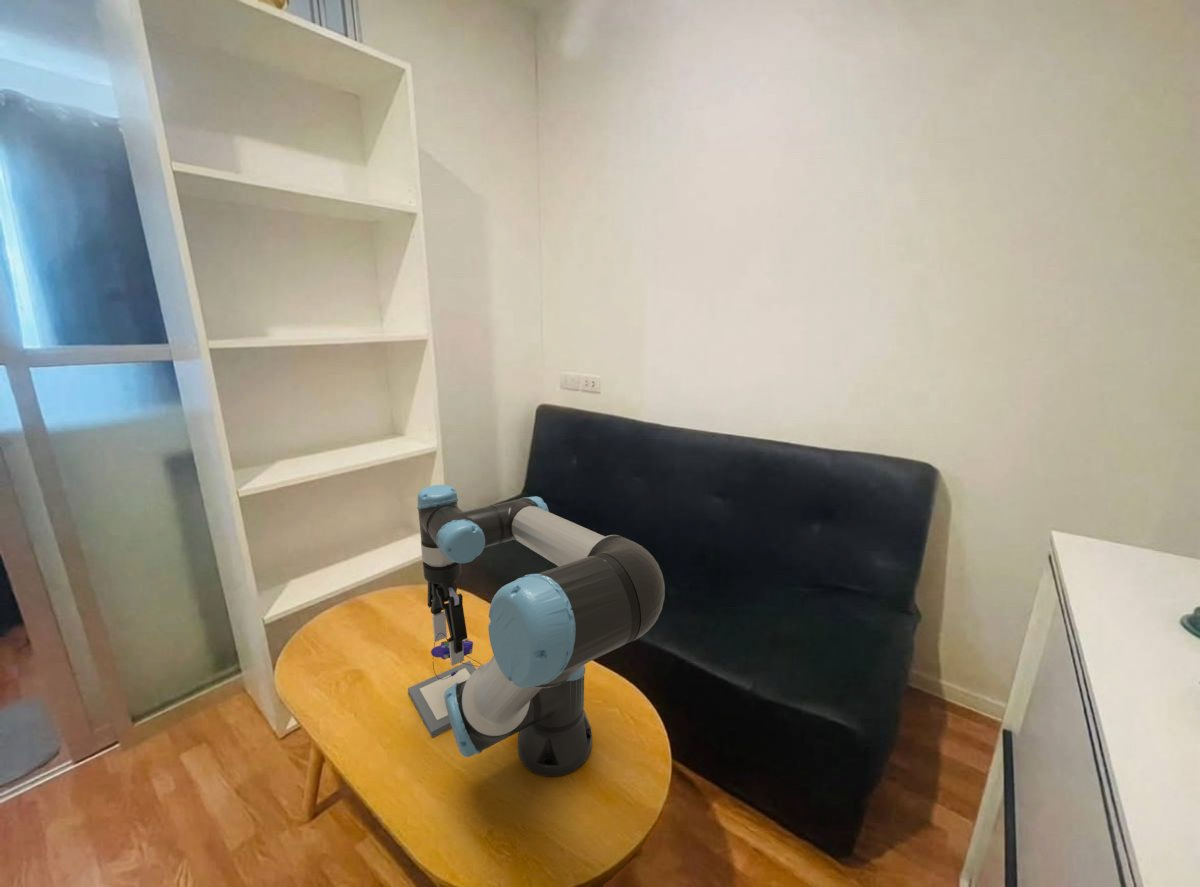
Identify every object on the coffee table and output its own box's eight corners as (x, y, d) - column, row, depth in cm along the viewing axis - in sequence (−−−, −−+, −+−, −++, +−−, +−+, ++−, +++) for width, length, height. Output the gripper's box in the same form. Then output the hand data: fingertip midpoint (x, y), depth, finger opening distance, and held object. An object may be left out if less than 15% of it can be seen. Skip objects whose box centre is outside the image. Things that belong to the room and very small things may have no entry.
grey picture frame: (497, 703, 109) (497, 697, 109) (431, 737, 100) (431, 731, 100) (470, 665, 121) (469, 659, 120) (408, 693, 112) (407, 687, 111)
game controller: (460, 626, 114) (486, 637, 108) (455, 662, 113) (481, 676, 107) (421, 632, 107) (447, 644, 100) (416, 670, 106) (441, 686, 99)
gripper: (481, 575, 95) (486, 671, 101) (440, 534, 111) (446, 619, 117) (443, 587, 91) (451, 687, 97) (406, 543, 107) (415, 631, 113)
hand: (448, 650), depth 107 cm, fingers closed on game controller, 9 cm apart
